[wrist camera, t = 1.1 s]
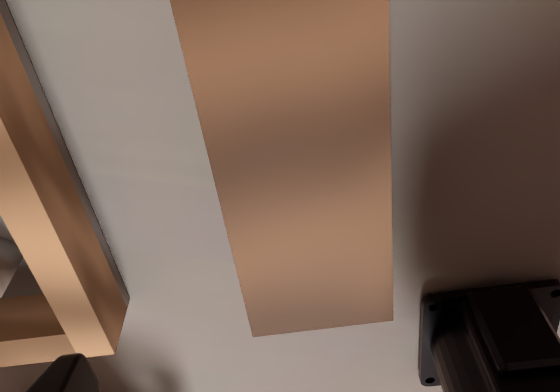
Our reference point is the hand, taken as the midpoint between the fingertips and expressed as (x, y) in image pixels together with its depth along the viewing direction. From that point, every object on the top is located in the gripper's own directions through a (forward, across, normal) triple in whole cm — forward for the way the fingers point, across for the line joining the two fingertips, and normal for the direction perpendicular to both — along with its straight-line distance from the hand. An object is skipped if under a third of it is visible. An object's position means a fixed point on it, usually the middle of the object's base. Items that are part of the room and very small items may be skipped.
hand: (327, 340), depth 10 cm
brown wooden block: (+11, 0, 0) cm, 11 cm away
